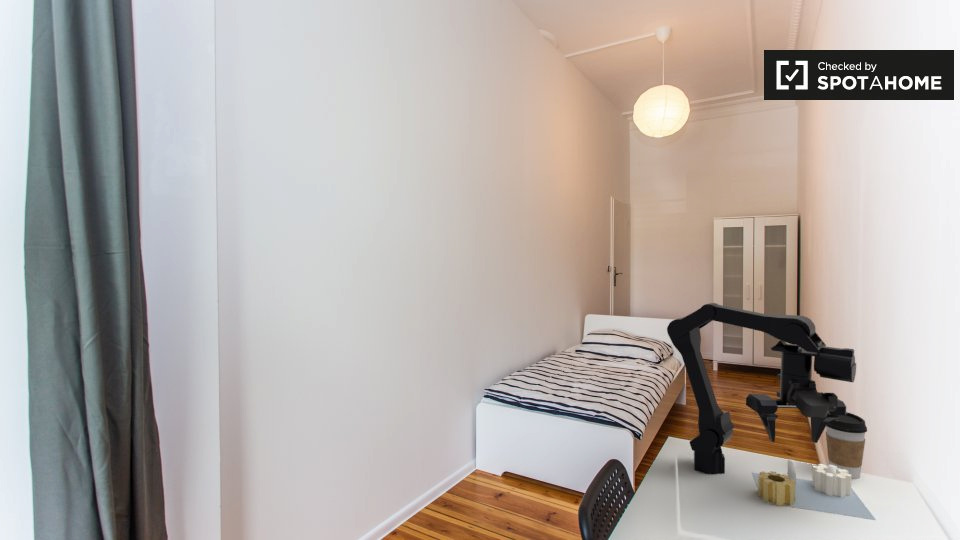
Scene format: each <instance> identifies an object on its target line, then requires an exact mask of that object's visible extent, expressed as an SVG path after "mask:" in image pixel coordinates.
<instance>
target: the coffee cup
mask: <svg viewBox="0 0 960 540" xmlns="http://www.w3.org/2000/svg"><path fill="white" fill-rule="evenodd" d="M839 416H840V417H839V418H836V419H833V420H831V421H830V422H829V423H828V424H827V426H826V427H825V429H826V431H825V437H826V438H825V440H826V449H827V458H828V459H827V460H828V465H829V464H830V465H834V466H837V468H840V469H845V470H847V471H849V474H850V475H851V480H859V479H860V478H861V473H862V465H863V459H864V452H865V445H866V438H865V436H866V435H865V434H866V433H867V432H868V427H867V426H866V425H867V424H866V420H865V419H864V418H862V417H860V416H858V415H856V414H854V413H852V412H847V411H846V415H839Z"/></svg>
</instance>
